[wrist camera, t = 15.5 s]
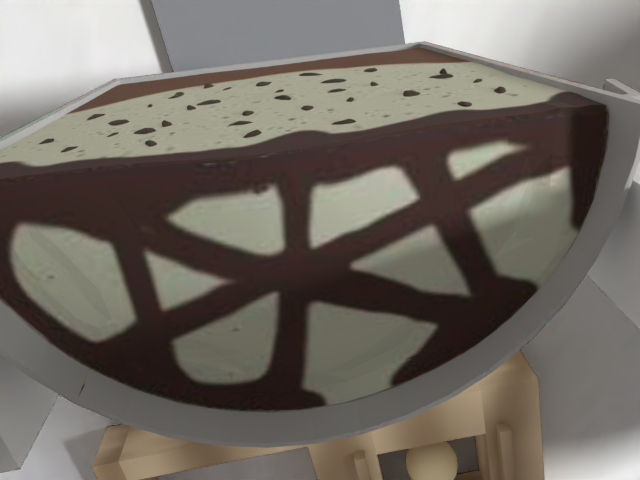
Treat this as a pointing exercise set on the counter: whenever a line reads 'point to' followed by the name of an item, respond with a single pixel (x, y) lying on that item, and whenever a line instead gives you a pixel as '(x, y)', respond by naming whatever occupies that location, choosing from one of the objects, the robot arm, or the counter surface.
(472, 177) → the food container
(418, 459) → the ball
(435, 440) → the wooden compartment tray
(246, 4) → the mat
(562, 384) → the counter surface
